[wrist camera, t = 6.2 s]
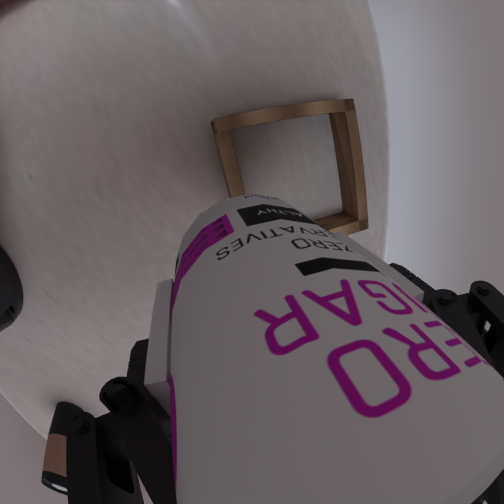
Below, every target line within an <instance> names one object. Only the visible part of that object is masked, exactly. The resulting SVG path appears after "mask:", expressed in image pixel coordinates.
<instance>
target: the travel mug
mask: <svg viewBox="0 0 504 504" xmlns="http://www.w3.org/2000/svg"><path fill="white" fill-rule="evenodd" d="M80 412H84V411H83V410H82V409H80V408H79V407H77V406H75V405H73V404H71V403H67V402H60V403H58V404H57V406H56V409H55V413H54V416H53V420H52V423H51V427H50V431H49V435H48V439H47V445H46V451H45V457H44V464H43V471H42V480H41V482H42V484H43V485H45V486H46V487H48V488H50V489H52V490H54V491H56V492H59V493H62V494H65V495H68V494H67V476H66V439H67V427H68V423H69V421H70V420H71V418H72V417H73V416H75V415H76V414H78V413H80Z"/></svg>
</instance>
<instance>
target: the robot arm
mask: <svg viewBox="0 0 504 504" xmlns="http://www.w3.org/2000/svg"><path fill="white" fill-rule="evenodd" d="M332 234H334V235H335V236H336V237H338V238H339V239H341V240H342V241H343V242H345V243H346V244H347V245H349V246H350V247H351V248H353V249H354V250H355V251H357V252H358V253H359V254H361V255H362V256H363V257H365V258H366V259H367V260H369V261H370V262H371V263H373V264H374V265H375V266H377V267H378V268H379V269H380V270H382V271H383V272H384V273H386V274H387V275H388V276H389V277H391V278H392V279H393V280H394V281H396V282H397V283H398V284H399V285H401V286H402V287H403V288H404V289H406V290H407V291H408V292H409V293H410V294H412V295H413V296H414V297H415V298H417V299H418V300H419V301H420V302H421V303H422V304H424V305H425V306H426V307H427V308H428V309H430V310H431V311H432V312H433V313H434V314H435V315H437V316H438V317H439V318H440V319H441V320H442V321H443V322H445V323H446V324H447V325H448V326H449V327H450V328H451V329H452V330H454V331H455V332H456V333H457V334H458V335H459V336H460V337H461V338H462V339H464V340H465V341H466V342H467V343H468V344H469V345H470V346H471V347H472V348H473V349H474V350H475V351H476V352H477V353H478V354H479V355H481V356H482V357H483V358H484V359H485V360H486V361H487V362H488V363H489V364H490V365H491V366H492V367H493V368H494V369H495V370H496V371H497V372H498V373H499V374H500V375H501V376H502V377H503V380H504V296H503V295H502V294H501V293H500V292H499V291H498V290H497V289H496V288H495V287H494V286H493V285H491V284H490V283H488V282H485V281H475V282H473V283H472V284H471V287H470V291H469V293H466V294H462V295H457V294H456V293H454V292H453V291H451V290H447V289H439V290H434V289H433V288H432V287H431V286H429V285H428V284H427V283H425V282H424V281H422V280H421V279H420V278H418V277H416V276H415V275H414V274H413V273H410V271H409V270H407V269H406V268H404V267H403V266H401V265H398V264H395V263H391V264H389V265H388V264H387V263H385V262H384V261H383V260H381V259H380V258H378V257H377V256H376V255H374V254H373V253H371V252H370V251H369V250H367V249H366V248H364V247H363V246H361V245H360V244H359V243H357V242H356V241H354V240H353V239H351V238H350V237H348V236H347V235H345V234H344V233H342V232H341V231H339V232H336V233H332ZM173 294H174V282H173V279H168V280H165V281H161V282H158V285H157V291H156V297H155V303H154V309H153V315H152V322H151V329H150V336H149V339H145V340H140V341H137V342H136V343H135V345H134V347H133V348H132V350H131V354H130V361H129V365H128V367H129V368H128V371H127V377H116V378H113V379H111V380H110V381H108V382H107V383H106V384H105V385H104V386H103V387H102V389H101V391H100V394H99V396H100V401H101V402H102V403H103V404H104V405H105V406H106V407H107V408H108V410H109V411H110V412H109V413H107V414H105V415H102V416H100V417H97V418H95V417H94V416H93V415H92V414H90V413H88V412H80V413H78V414H76V415H75V416H73V417H72V418H71V420H70V421H69V423H68V427H67V439H66V476H67V494H68V504H144V501H143V497H142V493H141V489H140V484H139V480H138V475H139V477H140V479H141V481H142V483H143V485H144V487H145V489H146V491H147V493H148V495H149V496H150V498H151V500H152V502H153V504H177V499H176V490H175V479H174V468H173V454H172V436H171V406H170V361H171V329H172V309H173ZM22 304H23V294H22V288H21V284H20V280H19V277H18V275H17V272H16V270H15V268H14V266H13V264H12V262H11V261H10V259H9V258H8V256H7V255H6V253H5V252H4V251H3V250H2V249H1V248H0V332H1V331H2V330H4V329H6V328H7V327H9V326H10V325H11V324H12V323H13V322H14V321H15V320H16V318H17V317H18V315H19V313H20V312H21V309H22ZM487 321H488V322H489V323H490V324H491V326H490V329H489V331H486V330H485V328H484V327H485V325H486V322H487ZM137 473H138V475H137ZM484 500H485V501H486V502H487V504H504V469H503V470H502V471H501V473H500V474H499V475H498V476H497V477H496V479H495V480H494V481H493V482H492V483H491V484H490V485H489V487H488V488H487V489H486V490H485V491H484V492H483V493H482V494H481V495H480V496H479V497H478V498H476V499H475V500H474V501H473V502H472V503H471V504H483V501H484Z"/></svg>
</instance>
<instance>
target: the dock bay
mask: <svg viewBox="0 0 504 504" xmlns="http://www.w3.org/2000/svg"><path fill="white" fill-rule="evenodd" d="M326 113H329V117H330V122H331V128H332V133H333V139H334V145H335V151H336V158H337V165H338V172H339V180H340V188H341V197H342V206H343V213H339V214H336V215H333V216H329V217H326V218H322V219H319V220H316V221H315V222H317V223H318V224H320V225H321V226H322V227H324V228H325V229H327V230H328V231H329V232H331V233H336V232H339V231H341V232H342V233H344V234H345V235H350V234H353V233H356V232H359V231H362V230H365V229H368V212H367V197H366V185H365V175H364V166H363V157H362V149H361V142H360V135H359V129H358V123H357V117H356V111H355V106H354V101H353V99H343V100H329V101H318V102H309V103H300V104H292V105H285V106H278V107H272V108H266V109H260V110H255V111H250V112H245V113H240V114H235V115H230V116H226V117H221V118H217V119H214V120H213V121H211V125H212V129H213V133H214V137H215V141H216V145H217V149H218V153H219V157H220V161H221V165H222V169H223V173H224V177H225V181H226V185H227V189H228V193H229V197H230V198H233V197H238V196H243V195H245V194H244V190H243V186H242V182H241V177H240V173H239V169H238V165H237V161H236V156H235V152H234V148H233V144H232V140H231V135H230V131H229V130H233V129H237V128H242V127H246V126H251V125H256V124H261V123H266V122H272V121H277V120H283V119H289V118H296V117H302V116H310V115H317V114H326Z"/></svg>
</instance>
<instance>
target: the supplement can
mask: <svg viewBox="0 0 504 504" xmlns="http://www.w3.org/2000/svg"><path fill="white" fill-rule="evenodd" d="M170 406H171V436H172V454H173V468H174V479H175V490H176V499H177V504H471V503H472V502H473V501H474V500H475V499H476V498H478V497H479V496H480V495H481V494H482V493H483V492H484V491H485V490H486V489H487V488H488V487H489V485H490V484H491V483H492V482H493V481H494V480H495V479H496V477H497V476H498V475H499V474H500V473H501V471H502V470H503V469H504V380H503V377H502V376H501V375H500V374H499V373H498V372H497V371H496V370H495V369H494V368H493V367H492V366H491V365H490V364H489V363H488V362H487V361H486V360H485V359H484V358H483V357H482V356H481V355H479V354H478V353H477V352H476V351H475V350H474V349H473V348H472V347H471V346H470V345H469V344H468V343H467V342H466V341H465V340H464V339H462V338H461V337H460V336H459V335H458V334H457V333H456V332H455V331H454V330H452V329H451V328H450V327H449V326H448V325H447V324H446V323H445V322H443V321H442V320H441V319H440V318H439V317H438V316H437V315H435V314H434V313H433V312H432V311H431V310H430V309H428V308H427V307H426V306H425V305H424V304H422V303H421V302H420V301H419V300H418V299H417V298H415V297H414V296H413V295H412V294H410V293H409V292H408V291H407V290H406V289H404V288H403V287H402V286H401V285H399V284H398V283H397V282H396V281H394V280H393V279H392V278H391V277H389V276H388V275H387V274H386V273H384V272H383V271H382V270H380V269H379V268H378V267H377V266H375V265H374V264H373V263H371V262H370V261H369V260H367V259H366V258H365V257H363V256H362V255H361V254H359V253H358V252H357V251H355V250H354V249H353V248H351V247H350V246H349V245H347V244H346V243H345V242H343V241H342V240H341V239H339V238H338V237H336V236H335V235H334V234H332V233H331V232H329V231H328V230H327V229H325V228H324V227H322V226H321V225H320V224H318V223H317V222H315V221H314V220H312V219H311V218H310V217H308V216H307V215H305V214H304V213H302V212H301V211H299V210H298V209H296V208H294V207H293V206H291V205H289V204H288V203H286V202H284V201H283V200H281V199H279V198H276V197H270V196H264V195H258V194H248V195H243V196H238V197H233V198H228V199H224V200H222V201H221V202H219V203H217V204H216V205H214V206H213V207H211V208H209V209H208V210H206V211H205V212H203V213H201V214H200V215H199V216H198V218H197V219H196V220H195V221H194V223H193V224H192V225H191V227H190V228H189V229H188V231H187V232H186V233H185V234H184V236H183V239H182V242H181V246H180V249H179V252H178V256H177V259H176V269H175V281H174V294H173V309H172V329H171V361H170Z"/></svg>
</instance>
